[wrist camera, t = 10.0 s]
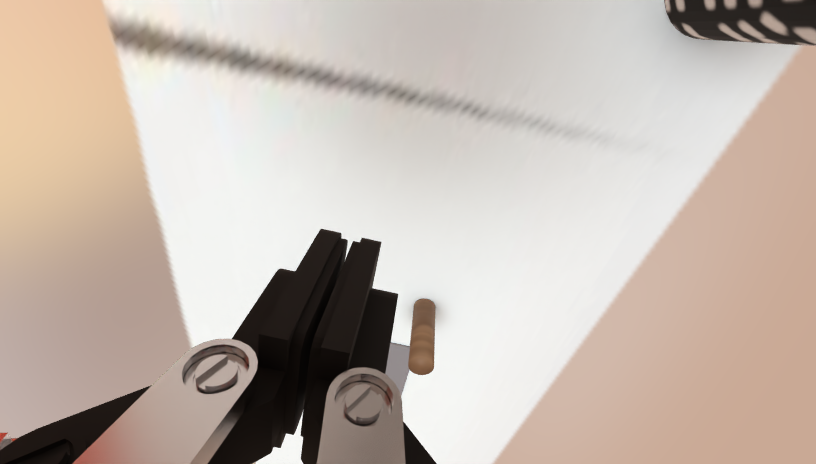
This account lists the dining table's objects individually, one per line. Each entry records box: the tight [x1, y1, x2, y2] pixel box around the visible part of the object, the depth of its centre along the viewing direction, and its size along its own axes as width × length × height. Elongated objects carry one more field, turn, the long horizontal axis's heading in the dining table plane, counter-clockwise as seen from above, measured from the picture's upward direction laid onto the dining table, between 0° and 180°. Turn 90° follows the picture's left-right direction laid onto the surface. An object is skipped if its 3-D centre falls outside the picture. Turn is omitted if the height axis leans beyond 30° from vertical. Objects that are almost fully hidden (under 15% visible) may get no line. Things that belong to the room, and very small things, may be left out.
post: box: [408, 299, 435, 375], centre depth 42 cm, size 3×3×9 cm
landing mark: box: [385, 343, 410, 396], centre depth 52 cm, size 14×14×1 cm
